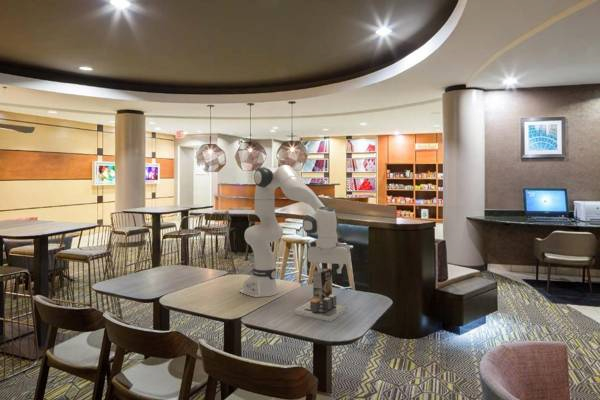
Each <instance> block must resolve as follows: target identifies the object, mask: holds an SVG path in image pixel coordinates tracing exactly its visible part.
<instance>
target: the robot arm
mask: <svg viewBox="0 0 600 400" xmlns="http://www.w3.org/2000/svg"><path fill="white" fill-rule="evenodd" d="M253 179H254V183H255V190H254V214H255V215H256V216H257V217H258V219H259V220H260V224H254V225H252V226H249V227H247V228H246V229H245V231H244V240H245V242H246V244H248V245H249V246H250V247H251V249H252V252H253V256H254V268H251V271H250V272H251V273H252V274H251V275H250V276H249V277H248V278H246V279H245V280H244V282H243V287H242V288H241V289H239V291H238V293H240V292H241V293H240V294H243V293H244V294H243V295H246V294H247V295H246V296H249V295H250V297H252V296H253V298H262V297H273V296H275V295H277V294H279V289H278V286H277V281H276V275H277V272H276V266H275V265H276V262H275V260H276V259H275V258H276V257H275V253H274V252H273V251H272V250H270V247H269V244H271V243H274V242H277V241H279V240H280V239H281V238H282V237H283V234H284V229H283V227H282V225H281V224H280V223H279V222H278V220H277V217H276V211H275V210H276V209H275V207H276V206H275V205H276V204H275V199H276V198H275V192H276V190H277V189H278V188H279V190H280V189H281V191H282V193H283V194H284V196H285V197H286V198H287V199H289V200H291V201H295V202H301V203H304V204H306V205H309V206H310V207H311V208H312V209H313V210H314V212H312V213H309V214H307V215H305V216H304V217H303V220H302V228H303V230H304V232H305V233H306V234H308V235H317V239H314V240H312V241H310V242H308V243H307V245H308V249H307V254H306V255H307V256H306V257H307V261H308V262H309V263H314V265H315V267H316V270H317V269H318V272H322V268H323V267H321V266H320V264H334V265H335V264H337V265H338V268H337V269H336V273H337V274H342V269H343V267H344V265H349V264H350V263H351V253H350V251H351V248H350V247H351V246H350V245H349V244H348V243H347V242H343V243H342V242H339V241H338V233H337V229H338V226H339V218H338V216H337V214H336V211H335V209H334V208H332V206H331V207H329V206H327V205H326V203H324V201H323V200H322V199H321V198H320V197H319V195H318V194H317V193H316V192H315V191H314V190H313V189H311V188H310V187H309V186H308V185H307V184H305V182H303V180H302V179H301V178H300V175H298V173H297V172H296V171H295V170H294V168H293V167H292V166H291V165H288V164H283V165H280V166H271V167H270V166H269V167H265V166H264V167H263V166H262V167H259V168H257V169H256V170H255V171H254V175H253Z"/></svg>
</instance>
